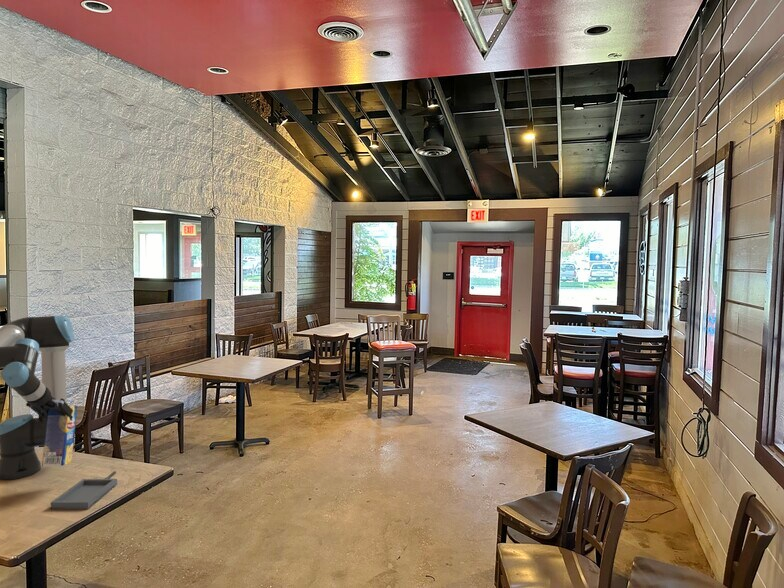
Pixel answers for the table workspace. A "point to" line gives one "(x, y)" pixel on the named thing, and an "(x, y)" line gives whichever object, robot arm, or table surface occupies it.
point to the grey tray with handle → (84, 493)
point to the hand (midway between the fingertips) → (66, 422)
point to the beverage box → (59, 438)
